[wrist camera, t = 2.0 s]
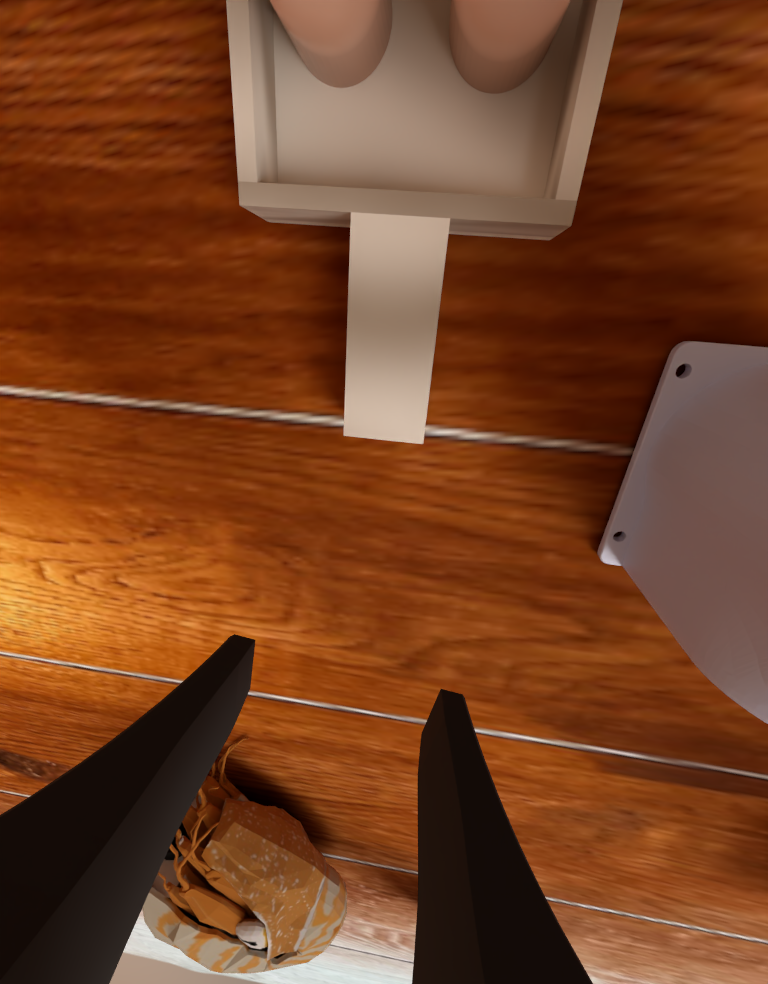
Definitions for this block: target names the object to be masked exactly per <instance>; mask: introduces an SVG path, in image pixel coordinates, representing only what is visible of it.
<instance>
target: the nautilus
mask: <svg viewBox="0 0 768 984" xmlns="http://www.w3.org/2000/svg"><path fill="white" fill-rule="evenodd" d="M245 739H249V737H245V738H243V739H241V740H239V741H237V742H236V743H235V744H234V745H233V744H232V745H230V747H229V748H228V750H227V752H226V753H225V754H224V755H223V756H222V758H221V759H220V760H219V763H218V766H217V767H218V770H219V772H220V778H219V782H218V781H216V777H215V762H214V764H213V766H212V776H208V775H207V777H206V779H205V780H204V782H203V784H202V786H201V788H200V790H199V791H198V793H197V795H196V797H195V799H194V801H193V802H192V804H191V806H190V808H189V810H188V812H187V813H186V815H185V817H184V819H183V821H182V823H181V825H180V827H179V829H178V831H177V833H176V835H175V837H174V839H173V841H172V843H171V845H170V848H169V850H168V852H167V854H166V856H165V859H164V861H163V863H162V865H161V867H160V870H159V872H158V874H157V876H156V878H155V880H154V883H153V885H152V887H151V889H150V892H149V894H148V896H147V898H146V901H145V903H144V905H143V907H142V908H143V914H144V920H145V923H146V924H147V926H148V927H149V929H150V930H151V932H152V933H153V935H154V937H155V938H157V939H159V940H161V941H163V942H165V943H167V944H170V945H172V946H174V947H176V948H178V949H180V950H181V951H182V952H183V953H184V954H185V955H186V956H188V957H190V958H191V959H193V960H194V961H196V962H198V963H199V964H201V965H203V966H204V967H206V968H207V969H209V970H211V971H215V972H220V973H257V972H265V971H269V970H274V969H279V968H283V967H288V966H293V965H297V964H302V963H306V962H309V961H310V960H312V959H313V958H315V957H316V956H318V955H319V954H321V953H322V952H323V951H324V950H325V949H326V948H327V947H328V946H329V945H330V944H331V942H332V941H333V939H334V938H335V937H336V935H337V934H338V932H339V930H340V929H341V927H342V925H343V922H344V920H345V917H346V913H347V891H346V885H345V882H344V881H343V879H342V878H341V876H340V875H339V873H338V872H337V871H336V870H335V869H334V868H333V867H331V866H330V865H329V864H327V863H326V861H325V858H324V856H323V855H322V854H321V853H320V852H319V851H318V850H317V849H316V848H315V847H314V846H313V845H312V843H311V842H310V840H309V838H308V835H307V833H306V832H305V830H304V828H303V826H302V824H301V822H300V821H298V820H297V819H295V818H294V817H292V816H291V815H289V814H288V813H287V812H286V811H285V810H284V809H279V808H277V807H275V806H263V805H260V804H258V803H255V802H252V801H249V800H248V799H247V798H246V797H245V796H244V795H243V794H242V793H241V792H240V791H239V790H238V789H237V788H236V787H235V786H234V785H233V784H232V783H231V782H230V781H229V780H228V779H227V778H226V775H225V773H224V767H225V762H226V757H227V755H228V754H229V753H230V752H231V751H232V750H233V748H234V747H235V746H236V745H238V744H239V743H241V742H242V741H243V740H245ZM222 761H223V764H222V768H221V763H222Z"/></svg>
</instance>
